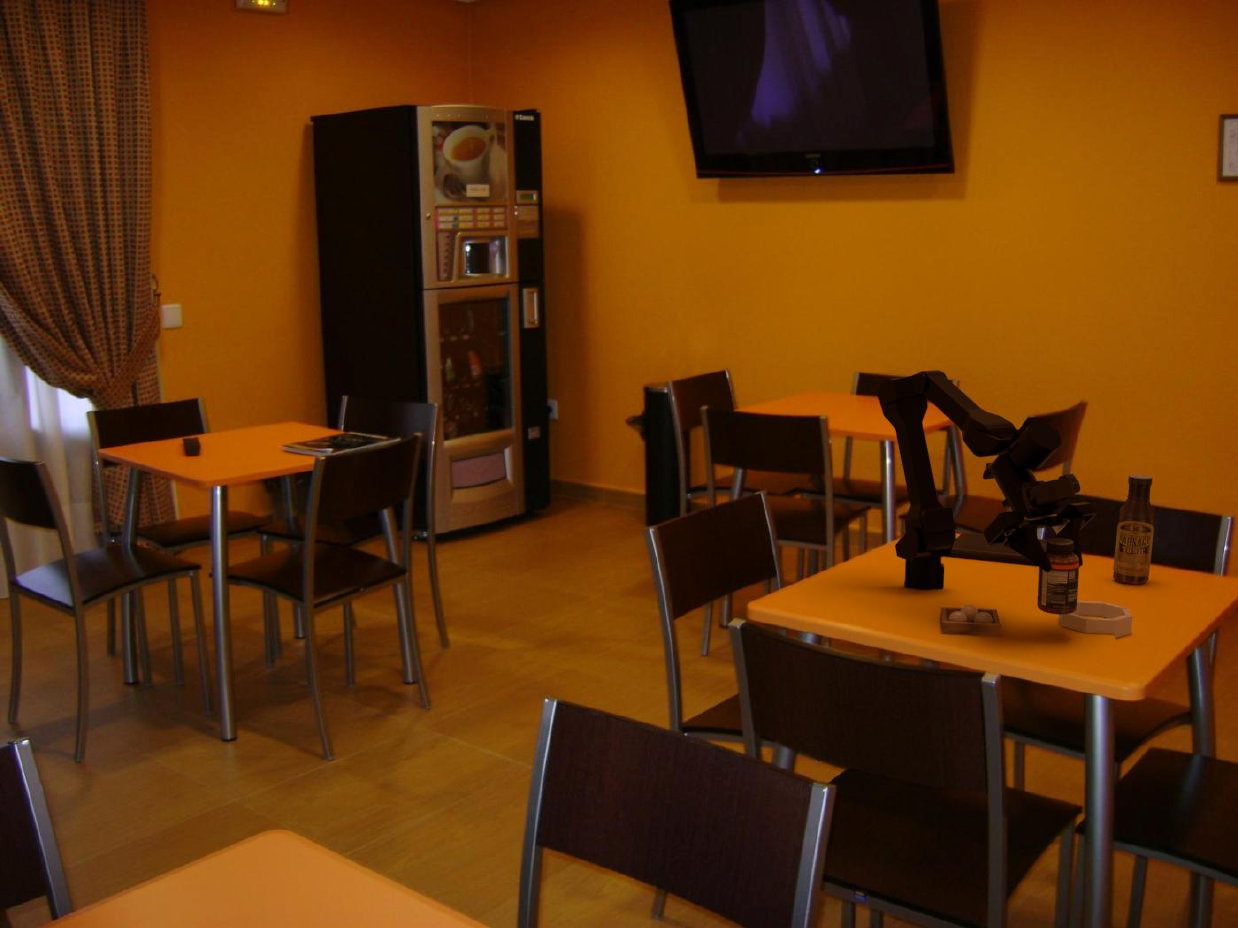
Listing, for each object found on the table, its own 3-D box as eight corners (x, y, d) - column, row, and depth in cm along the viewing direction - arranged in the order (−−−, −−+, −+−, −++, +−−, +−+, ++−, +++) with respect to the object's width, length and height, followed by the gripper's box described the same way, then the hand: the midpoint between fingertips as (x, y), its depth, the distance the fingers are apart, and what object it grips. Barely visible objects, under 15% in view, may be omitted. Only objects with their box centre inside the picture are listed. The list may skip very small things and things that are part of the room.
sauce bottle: (1112, 584, 234) (1118, 477, 231) (1113, 575, 240) (1118, 472, 236) (1150, 587, 232) (1157, 480, 228) (1150, 578, 238) (1157, 473, 234)
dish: (1064, 636, 204) (1065, 618, 204) (1056, 617, 214) (1057, 599, 214) (1134, 639, 202) (1135, 621, 202) (1123, 620, 212) (1124, 602, 212)
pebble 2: (960, 624, 208) (960, 607, 208) (959, 619, 211) (959, 602, 211) (979, 625, 208) (979, 608, 207) (977, 620, 211) (978, 602, 210)
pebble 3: (974, 632, 204) (974, 614, 204) (973, 627, 207) (973, 609, 207) (993, 633, 204) (994, 615, 203) (992, 627, 206) (992, 610, 206)
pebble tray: (942, 638, 204) (942, 622, 204) (940, 621, 213) (940, 606, 212) (1000, 640, 202) (1001, 625, 202) (996, 624, 211) (996, 609, 211)
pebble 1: (948, 631, 205) (949, 613, 204) (947, 626, 208) (948, 608, 207) (967, 632, 204) (968, 614, 204) (966, 627, 207) (967, 609, 207)
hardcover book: (962, 542, 270) (963, 531, 269) (1076, 553, 259) (1077, 542, 259) (943, 559, 256) (944, 548, 256) (1063, 571, 245) (1063, 560, 245)
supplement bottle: (1043, 602, 205) (1047, 534, 203) (1081, 608, 202) (1085, 539, 200) (1031, 611, 201) (1035, 541, 199) (1070, 617, 197) (1074, 546, 195)
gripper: (999, 462, 197) (1046, 547, 189) (1091, 452, 204) (1140, 534, 196) (964, 502, 205) (1007, 585, 197) (1053, 491, 213) (1099, 571, 205)
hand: (1065, 568), depth 199 cm, fingers closed on supplement bottle, 6 cm apart
